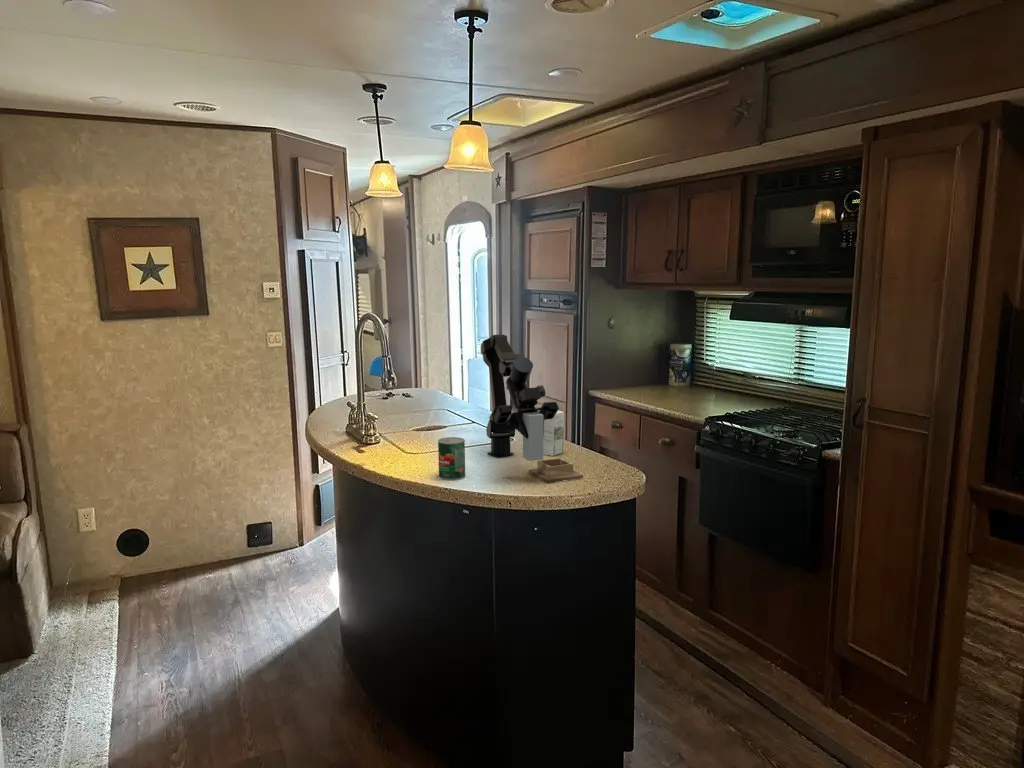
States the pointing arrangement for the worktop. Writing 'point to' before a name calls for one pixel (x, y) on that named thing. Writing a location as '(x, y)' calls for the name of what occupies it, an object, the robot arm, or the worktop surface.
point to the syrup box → (553, 435)
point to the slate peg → (533, 436)
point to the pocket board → (555, 470)
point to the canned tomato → (451, 458)
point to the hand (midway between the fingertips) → (535, 437)
